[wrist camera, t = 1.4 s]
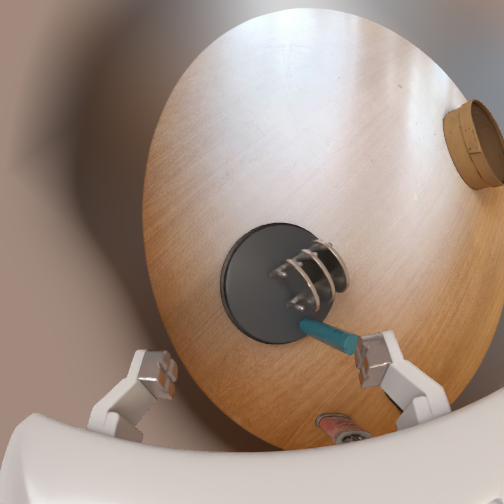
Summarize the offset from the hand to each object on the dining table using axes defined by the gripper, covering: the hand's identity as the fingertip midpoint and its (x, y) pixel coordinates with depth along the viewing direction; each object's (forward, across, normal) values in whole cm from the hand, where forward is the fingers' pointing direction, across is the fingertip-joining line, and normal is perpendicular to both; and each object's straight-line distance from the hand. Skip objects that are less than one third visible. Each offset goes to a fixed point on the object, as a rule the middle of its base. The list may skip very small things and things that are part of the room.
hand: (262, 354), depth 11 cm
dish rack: (+24, -1, +17) cm, 29 cm away
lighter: (+11, -9, +42) cm, 44 cm away
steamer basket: (+59, -61, +7) cm, 85 cm away
